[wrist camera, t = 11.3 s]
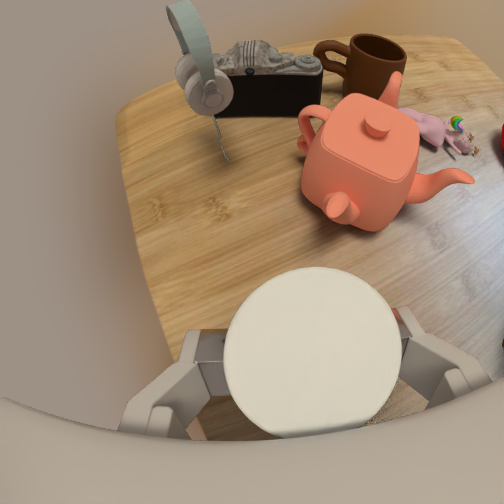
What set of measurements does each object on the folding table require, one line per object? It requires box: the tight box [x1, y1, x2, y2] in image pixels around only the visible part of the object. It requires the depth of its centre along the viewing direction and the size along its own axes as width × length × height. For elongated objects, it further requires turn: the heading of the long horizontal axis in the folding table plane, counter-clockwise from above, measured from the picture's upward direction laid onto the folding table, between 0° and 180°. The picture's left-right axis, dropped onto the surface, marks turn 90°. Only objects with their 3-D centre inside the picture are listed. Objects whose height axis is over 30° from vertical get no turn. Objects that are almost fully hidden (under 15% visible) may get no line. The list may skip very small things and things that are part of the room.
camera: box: [212, 40, 323, 119], centre depth 30 cm, size 15×7×10 cm, turn 86°
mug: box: [313, 34, 407, 100], centre depth 30 cm, size 12×8×9 cm, turn 85°
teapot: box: [297, 71, 475, 232], centre depth 25 cm, size 14×14×11 cm
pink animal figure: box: [397, 107, 479, 156], centre depth 28 cm, size 6×6×15 cm
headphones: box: [166, 0, 234, 162], centre depth 23 cm, size 8×4×20 cm, turn 23°
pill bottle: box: [223, 267, 402, 439], centre depth 10 cm, size 5×5×8 cm
